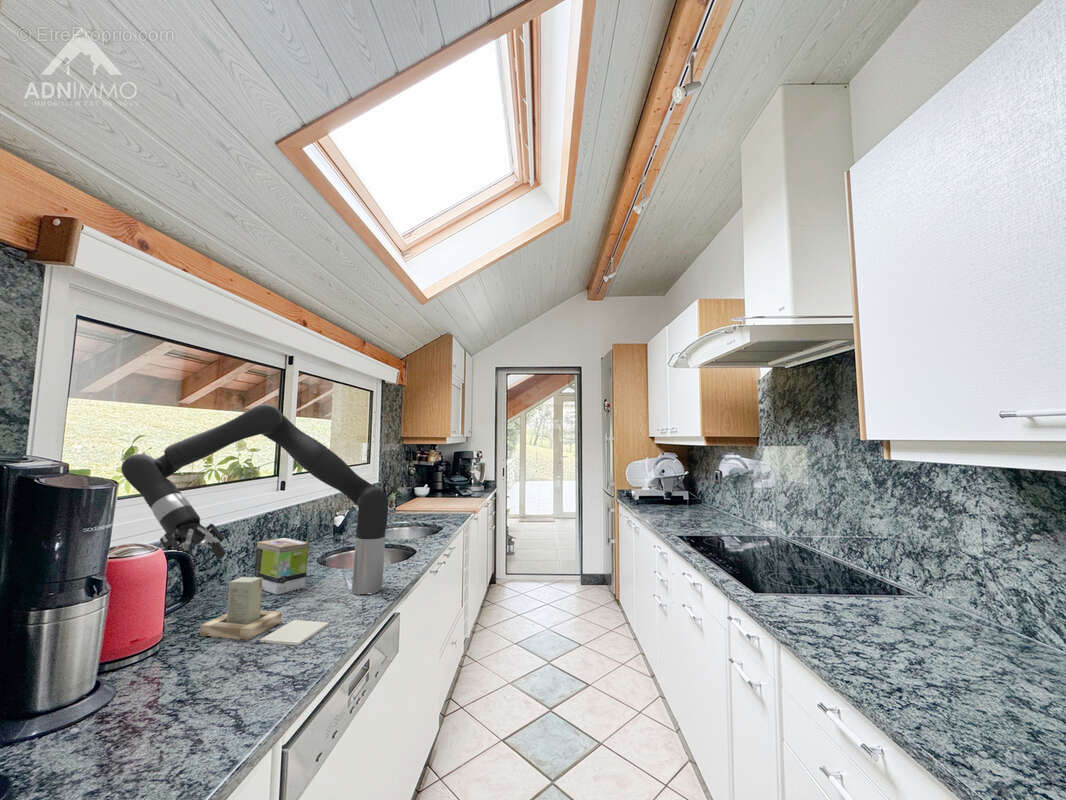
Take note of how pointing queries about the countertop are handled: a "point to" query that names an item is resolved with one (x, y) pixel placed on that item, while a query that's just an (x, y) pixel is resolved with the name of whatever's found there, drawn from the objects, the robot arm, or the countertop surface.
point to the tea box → (281, 564)
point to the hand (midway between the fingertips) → (208, 560)
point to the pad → (294, 632)
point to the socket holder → (240, 626)
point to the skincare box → (244, 600)
